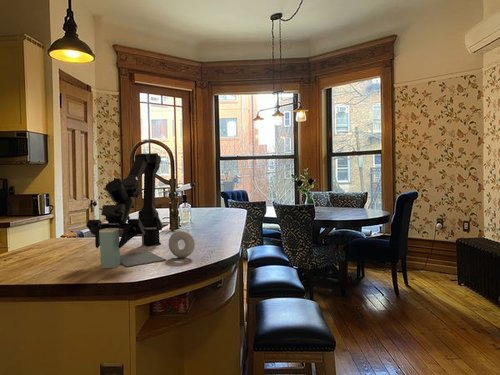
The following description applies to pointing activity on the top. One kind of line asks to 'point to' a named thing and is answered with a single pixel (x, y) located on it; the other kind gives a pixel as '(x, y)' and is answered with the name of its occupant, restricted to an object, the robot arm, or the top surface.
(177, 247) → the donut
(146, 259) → the mat
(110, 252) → the block
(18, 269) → the top surface
